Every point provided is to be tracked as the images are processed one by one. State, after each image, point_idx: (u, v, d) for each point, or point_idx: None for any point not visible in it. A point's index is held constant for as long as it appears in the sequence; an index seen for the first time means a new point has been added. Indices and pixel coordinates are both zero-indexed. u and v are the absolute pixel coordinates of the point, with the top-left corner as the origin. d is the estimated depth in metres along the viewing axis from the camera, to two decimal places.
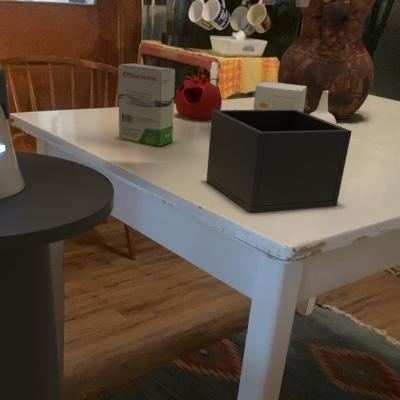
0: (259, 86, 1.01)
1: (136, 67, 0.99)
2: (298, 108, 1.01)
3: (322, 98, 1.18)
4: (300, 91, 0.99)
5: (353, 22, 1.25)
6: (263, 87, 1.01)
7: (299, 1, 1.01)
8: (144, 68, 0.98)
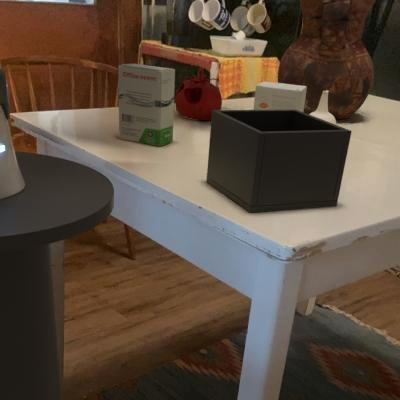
0: (259, 86, 1.01)
1: (136, 67, 0.99)
2: (298, 108, 1.01)
3: (322, 98, 1.18)
4: (300, 91, 0.99)
5: (353, 22, 1.25)
6: (263, 87, 1.01)
7: None
8: (144, 68, 0.98)
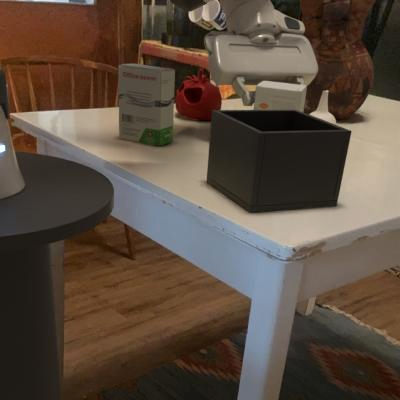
0: (259, 86, 1.01)
1: (136, 67, 0.99)
2: (298, 108, 1.01)
3: (322, 98, 1.18)
4: (300, 91, 0.99)
5: (353, 22, 1.25)
6: (263, 87, 1.00)
7: None
8: (144, 68, 0.98)
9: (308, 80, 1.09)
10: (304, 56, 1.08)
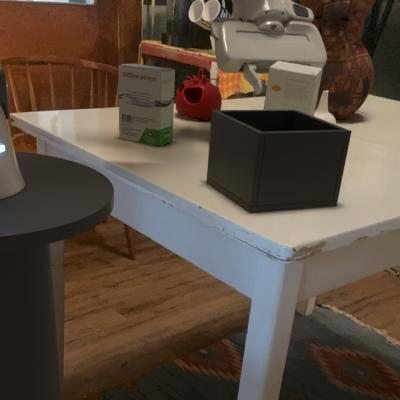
0: (273, 68, 0.97)
1: (136, 67, 0.99)
2: (312, 93, 0.97)
3: (322, 98, 1.18)
4: (315, 75, 0.96)
5: (353, 22, 1.25)
6: (277, 69, 0.97)
7: None
8: (144, 68, 0.98)
9: None
10: (313, 45, 1.05)
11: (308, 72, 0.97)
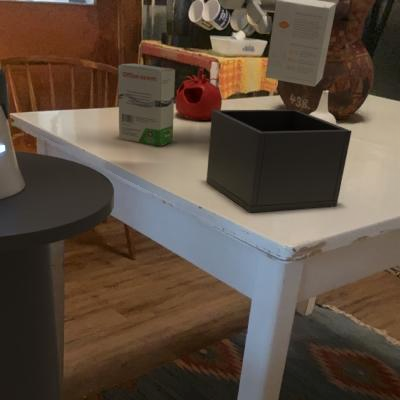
0: (280, 1, 0.86)
1: (136, 67, 0.99)
2: (324, 29, 0.86)
3: (322, 98, 1.18)
4: (328, 8, 0.85)
5: (353, 22, 1.25)
6: (285, 2, 0.86)
7: None
8: (144, 68, 0.98)
9: None
10: None
11: (320, 5, 0.85)
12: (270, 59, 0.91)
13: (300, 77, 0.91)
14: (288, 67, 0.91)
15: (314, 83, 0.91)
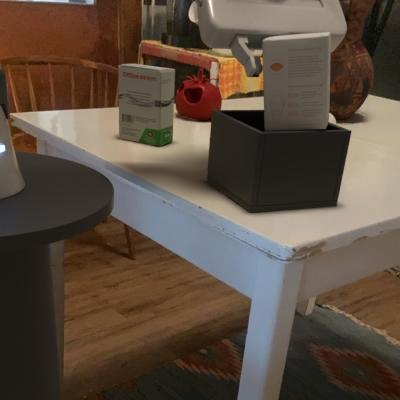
0: (267, 41, 0.72)
1: (136, 67, 0.99)
2: (326, 61, 0.72)
3: None
4: (326, 36, 0.71)
5: (353, 22, 1.25)
6: (273, 41, 0.72)
7: None
8: (144, 68, 0.98)
9: (333, 44, 0.81)
10: (328, 12, 0.79)
11: (316, 35, 0.72)
12: (267, 109, 0.76)
13: (307, 121, 0.76)
14: (290, 113, 0.76)
15: (325, 125, 0.76)
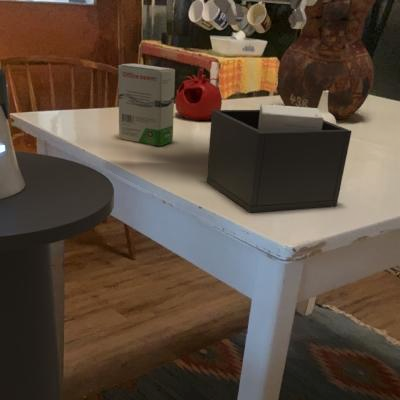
0: (267, 114, 0.77)
1: (136, 67, 0.99)
2: None
3: (322, 98, 1.18)
4: (321, 118, 0.77)
5: (353, 22, 1.25)
6: (272, 115, 0.77)
7: (303, 15, 0.80)
8: (144, 68, 0.98)
9: None
10: None
11: (311, 114, 0.77)
12: None
13: None
14: None
15: None
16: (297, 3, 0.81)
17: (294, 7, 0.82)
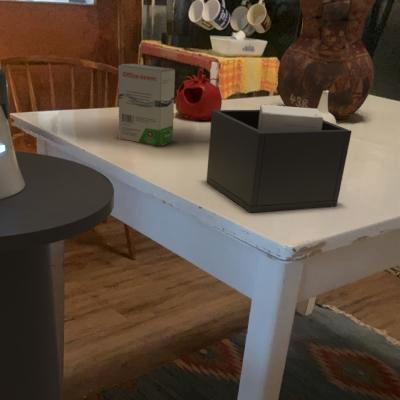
0: (267, 113, 0.77)
1: (136, 67, 0.99)
2: None
3: (322, 98, 1.18)
4: (321, 118, 0.77)
5: (353, 22, 1.25)
6: (272, 114, 0.77)
7: None
8: (144, 68, 0.98)
9: None
10: None
11: (310, 114, 0.77)
12: None
13: None
14: None
15: None
16: None
17: None
